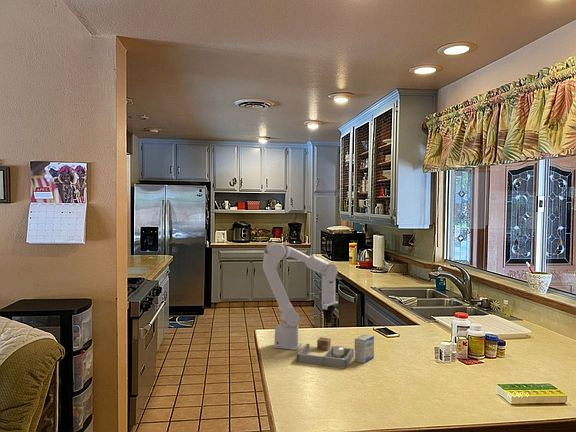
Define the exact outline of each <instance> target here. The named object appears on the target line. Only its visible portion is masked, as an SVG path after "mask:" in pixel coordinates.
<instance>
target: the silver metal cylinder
mask: <svg viewBox="0 0 576 432" xmlns="http://www.w3.org/2000/svg"><path fill="white" fill-rule="evenodd" d="M344 348H345V347H344V346H342V345H335V346H333V355H332V357H333V358H341V359H345V356H344Z"/></svg>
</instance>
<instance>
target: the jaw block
mask: <svg viewBox="0 0 576 432" xmlns="http://www.w3.org/2000/svg"><path fill="white" fill-rule="evenodd" d="M331 343H332V342H331V337H319V338H318V339H317V341H316V350H318V351H326V352H328V350H329V349H330V348H331Z"/></svg>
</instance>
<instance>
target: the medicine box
mask: <svg viewBox="0 0 576 432" xmlns="http://www.w3.org/2000/svg"><path fill="white" fill-rule="evenodd" d="M374 358H375V336H374V335H371V334H362V335H361V336H358V337H355V339H354V361H355V362H358V363H363V364H366V363H367V362H369V361H370V360H372V359H374Z"/></svg>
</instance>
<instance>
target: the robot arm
mask: <svg viewBox="0 0 576 432" xmlns="http://www.w3.org/2000/svg"><path fill="white" fill-rule="evenodd" d="M319 256H320V255H318V254H315V255H314V254H311V255H307V254H305V253H303V252H301V251H299V250H298V249H295V248H294V247H292V246H289V245H285V244H281V243H278V242H276V241H272V242H269V243H267V245H266V246H265V248H264V250H263V261H262V270H263V272H264V274H265V277H266V278H267V279H266V280H267V281H268V284H269V286H270V288H271V290H272V291H271V292H272V293H273V295H274V298H275V300H276V302H277V305H278V310H279V318H280V320H281V323H279V324H276V326H275V329H274V346H273V348H275V349H283V350H292V351H297V349H298V348H299V347H301V345H302V343H301V342H300V343H299V324H300V321H301V316H300V315H299V313H298V312H297V311H296V310H295V307H294V306H293V304H292V302H291V301H290V298H289V296H288V295H287V292H286V288H285V287H284V285H283V281H282V280H281V277H280V275H279V272H278V270H277V266H278V265H279V262H280V261H281V260H283V258H284V257H285V258H289V257H291V258H293V259H296V260H299V261H300V262H303V263H305V264H306V267H307V268H308V269H310V270H313V271H314V272H317V273H319V274H321V277H322V278H321V307H320V309H321V311H322V313H323V316H324V321H325V324H331V323H332V320H333V315H334V312H335V309H336V308H337V305H338V304H339V301H338V300H337V301H336V277H337V275H338V273H339V270H338V268H337V265H335V263H334V264H333V263H331V262H330V261H329V260H327V259H323V258H320V257H319Z"/></svg>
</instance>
